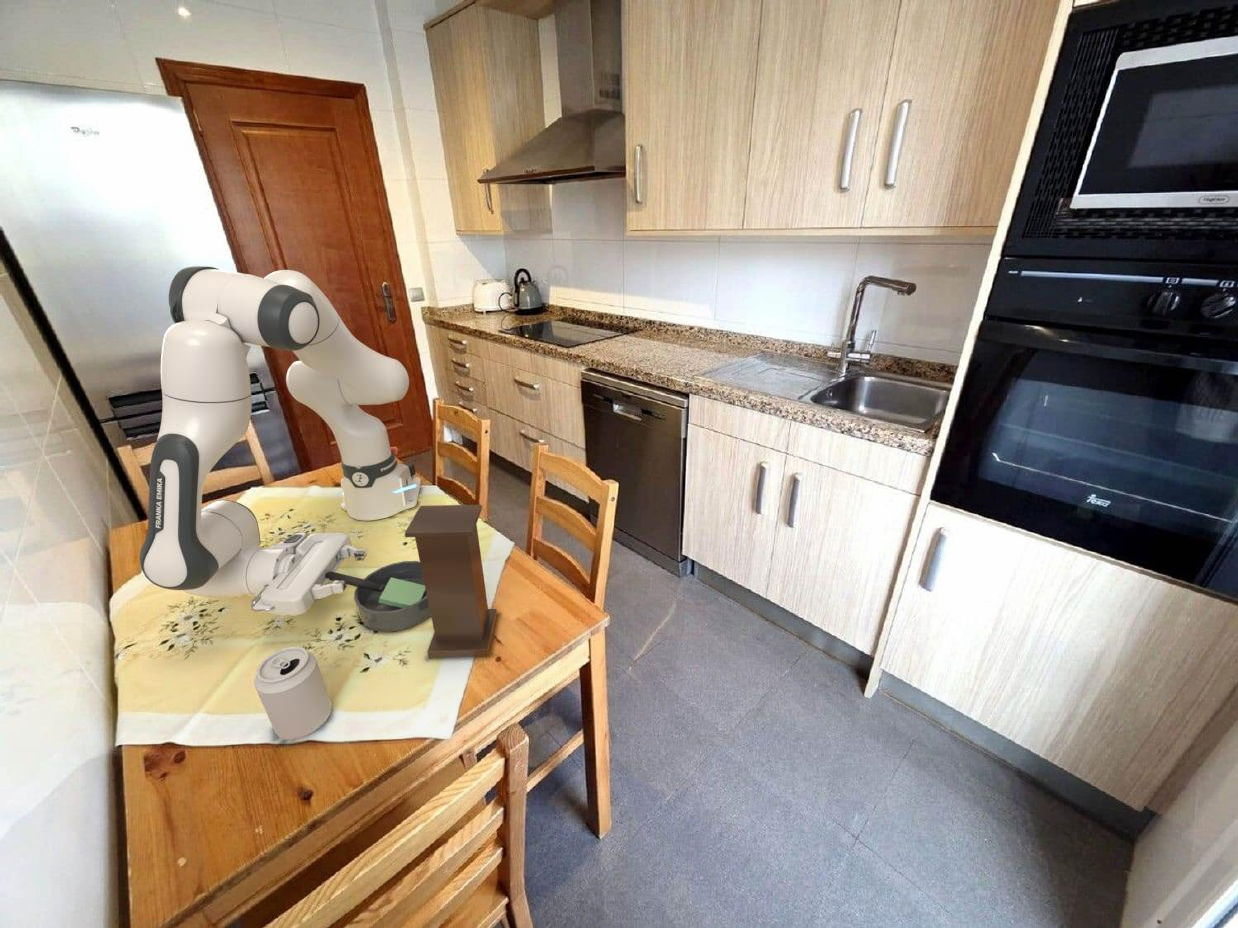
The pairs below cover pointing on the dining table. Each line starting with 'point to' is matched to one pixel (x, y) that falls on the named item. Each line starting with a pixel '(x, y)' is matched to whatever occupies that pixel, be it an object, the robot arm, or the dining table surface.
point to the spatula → (386, 589)
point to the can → (293, 692)
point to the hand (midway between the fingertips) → (355, 569)
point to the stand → (453, 579)
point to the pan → (387, 615)
